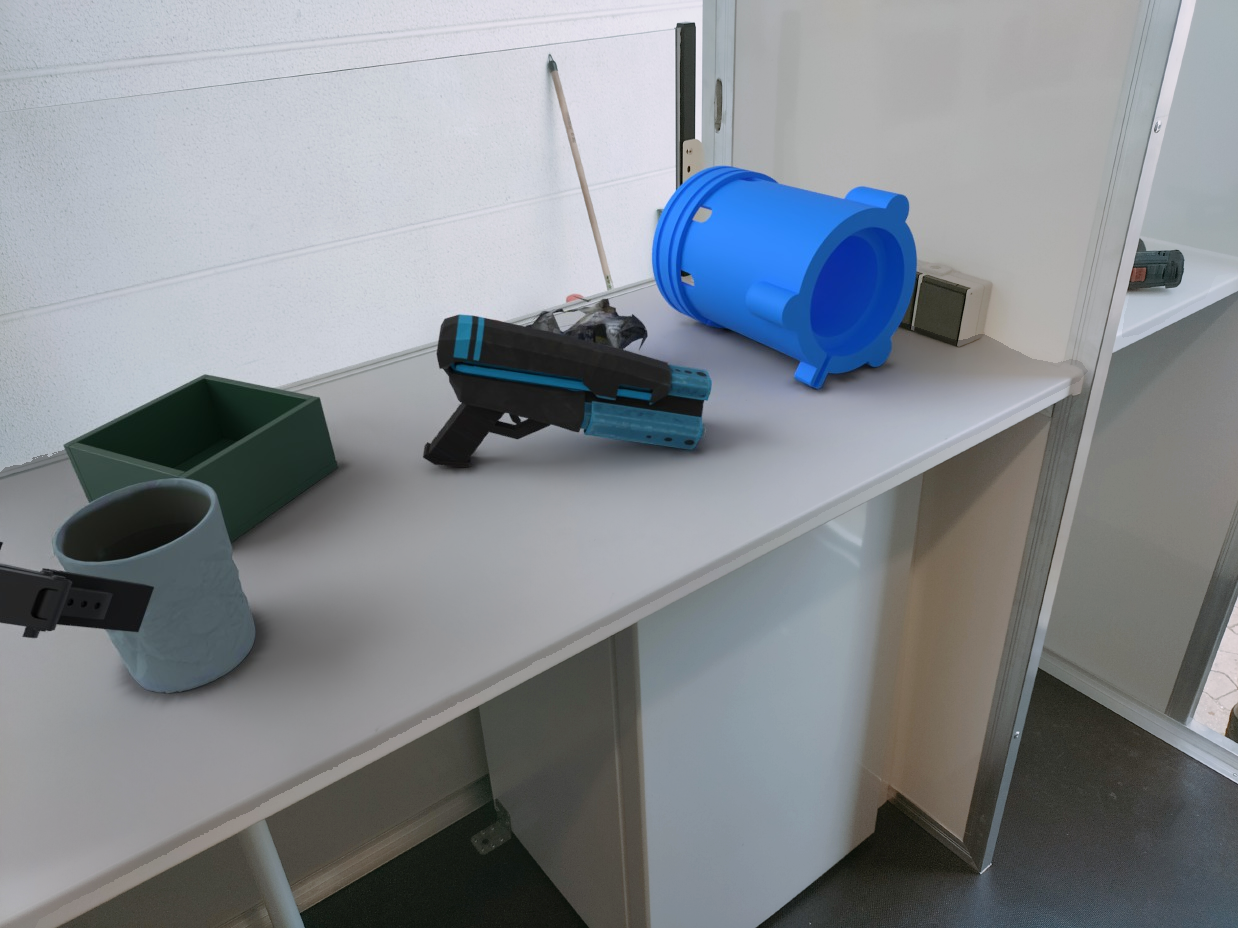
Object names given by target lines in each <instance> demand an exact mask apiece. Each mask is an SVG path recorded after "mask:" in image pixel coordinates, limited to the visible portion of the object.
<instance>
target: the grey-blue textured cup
mask: <svg viewBox="0 0 1238 928" xmlns="http://www.w3.org/2000/svg"><path fill="white" fill-rule="evenodd" d="M51 544H52V546H51V547H52V551H53V555H54V556H55V557H56V559H57V560H58V562H59V563H60V565H61V567H62V568H63V571H64V572H71V573H77V574H83V575H90V576H96V577H102V578H109V579H115V580H121V581H127V582H134V583H140V584H146V585H149V586H153V587H154V589H153V592H152V595H151V598H150V601H149V604H148V607H147V609H146V612H145V615H144V618H143V621H142V624H141V627H140V629H139V632H130V631H119V630H109V629H103V630H104V631H105V632H106V633H107V635H108V636H109V640H110V642H111V643H112V644H113V646H114V647H115V649H116V650H117V653H118V654H119V657H120V659H121V661H122V662H123V664H124V665H125V667H126V670H127V671H128V672H129V674H130V675H131V677H132V678H133V679H134V680H135V681H136V682H137V684H138V685H139V686H141V687H142V688H144V689H145V690H147V691H150V692H155V693H166V694H173V693H176V692H179V693H182V692H184V691H190V690H192V689H196V688H198V687H201V686H204V685H208V684H209V683H211V682H213V681H216V680H218V678H221V677H224V676H225V675H227V674H228V673H229V672H231V671H233V670H234V669H235V668H236V667H237V666H239V664H240V663H242V661H243V660H244V659H245V658H246V657H247V655H248V654H250V652H251V650H252V648H253V646H254V642H255V640H256V626H255V625H256V624H255V621H254V618H253V613H252V611H251V606H250V603H249V600H248V597H247V596H246V594H245V592H244V591H243V587H242V583H241V580H240V574H239V569H238V567H237V565H236V562H235V561H234V559H233V546H232V542H231V543H230V540H229V536H228V533H227V530H226V527H225V523H224V519H223V516H222V512H221V509H220V505H219V501H218V498H217V494H216V493H215V491H214V490H213V489H212V488H211V487H210V486H208V485H206V484H204V483H201V482H198V481H195V480H191V479H185V478H172V479H160V480H154V481H149V482H144V483H139V484H135V485H132V486H128V487H125V488H122V489H120V490H117V491H114V492H112V493H109V494H107V495H105V496H102V497H100V498H98V499H96V500H94V501H92V502H91V503H89V502H88V503H87V504H86V505H84V506H81V508H79V509H78V510H77V511H75V512H74V513H72V514H71V515H70V516H69V517H68V518H67V519H66V520H65V521H64V522H62V523H61V524H60V525H59V527H58V529H57V530H56V531H55V533H54V536H53V538H52V541H51Z"/></svg>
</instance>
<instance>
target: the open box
mask: <svg viewBox="0 0 1238 928" xmlns="http://www.w3.org/2000/svg"><path fill="white" fill-rule="evenodd" d="M321 400H322V399H321V397H320V396H315V395H311V394H305V393H301V392H295V391H291V390H286V389H281V388H276V387H270V386H266V385H261V384H258V383H257V384H256V383H252V382H251V383H250V382H246V381H241V380H237V379H231V378H227V377H222V376H216V375H213V374H207V373H205V374H202V375H200V376H198V377H196V378H195V379H192V380H190V381H188V382H186V383H184V384H182V385H180V386H178V387H176V388H173V389H172V390H170V391H168V392H166V393H164V394H162V395H160V396H158V397H156V398H154V399H152V400H150V401H148V402H145V403H144V404H142V405H140V406H138V407H136V408H134V409H132V410H130V411H128V412H126V413H124V414H122V415H119V416H118V417H116V418H113V419H112V420H110V421H108V422H106V423H104V424H102V425H100V426H97V427H96V428H94V429H92V430H90V431H88V432H85V433H84V434H82V435H80V436H78V437H75V438H74V439H71V440H70V441H67V442H65V443H64V444H63V445H62V446H63V448H64V450H65V452H66V455H67V457H68V459H69V461H70V463H71V466H72V468H73V470H74V472H75V474H76V475H75V476H76V477H77V479H78V481H79V484H80V487H81V489H82V490H83V492H84V495H85V497H86V499H87V502H88V504H89V503H91V502H92V501H94V500H96V499H98V498H100V497H102V496H105V495H107V494H109V493H112V492H114V491H117V490H120V489H122V488H125V487H128V486H132V485H135V484H139V483H144V482H149V481H154V480H160V479H172V478H185V479H191V480H195V481H198V482H201V483H204V484H206V485H208V486H210V487H211V488H212V489H213V490H214V491H215V493H216V494H217V498H218V501H219V505H220V509H221V512H222V516H223V519H224V523H225V527H226V530H227V533H228V536H229V540H230V543H231V544H232V543H233V542H234V541H235V540H237V539H238V538H240V537H241V536H242V535H244V534H245V533H247V532H248V531H250V530H251V529H253V528H254V527H255V526H256V525H258V524H259V523H261V522H263V521H264V520H265V519H267V518H268V517H270V516H271V515H272V514H274V513H275V512H278V510H280V509H281V508H282V507H284V506H285V505H287V504H288V503H289V502H291V501H292V500H294V499H295V498H296V497H298V496H299V495H301V494H302V493H303V492H306V491H307V490H308V489H309V488H311V487H312V486H314V485H315V484H317V483H318V482H319V481H321V480H322V479H324V478H325V477H326V476H328V475H329V474H330V473H332V472H334V471H335V470H336V469H338V468H339V465H338V462H337V459H336V458H337V457H336V454H335V450H334V447H333V442H332V439H331V435H330V431H329V428H328V427H329V426H328V424H327V420H326V416H325V411H324V408H323V404H322V401H321Z"/></svg>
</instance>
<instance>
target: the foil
mask: <svg viewBox="0 0 1238 928" xmlns="http://www.w3.org/2000/svg"><path fill="white" fill-rule="evenodd" d="M573 297H574V298H577V299H579V300H582V301H584V302H586V303H589V302H591V300H590V299H586V298H582V297H578V296H575V295H573ZM578 311H579V312H581V313H583V314H585V315H584V316H582V317H581V318H579V320H577V321H576V322H575V323H573V324H571V325H570V324H568V325H566V327H567V326H570V327H569V328H567V329H565V330H563V331H562V330H561V329H560V328H563V327H564V325H563V326H561V327H560V326H559V324H558V321H557V319H556V317H555V314H557V313H563V314H564V313H565V314H566V313H575V312H578ZM532 321H534V322H533V323H531V324H530V323H528V324H526V325H524V326H525V327H530V328H535V329H540V330H544V331H549V332H553V333H557V334H561V335H565V336H569V337H573V338H577V339H582V340H586V341H590V342H594V343H598V344H602V345H606V346H610V347H614V348H618V349H622V350H625V348H627V347H628V346H630V345H632V343H633V342H637V341H638V340H641V342H640V344H639V348H638V351H640V350H641V349H642V347H643V345H644V343H645V342H646V340H647V338H648V335H649V334H648V330H647V327H646V325H645V324H644V323H643V322H642V321H641V320H640V319H639V318H638V317H637V316H636V315H635V314H634V313H632V314H631V315H619V313H618V311H617V307H614V306H612V305H611V304H610V301H609V298H602V299H600V300H599V302H597V303H595V304H594V305H593V306H583V305H582V306H580V307H579V308H575V309H574V308H573V309H568V310H564V308H558V309H552V310H551V311H549V310H542V311H541V312H540V313H539V314H537V316H535V317H534V318H533V319H532Z"/></svg>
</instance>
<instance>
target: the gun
mask: <svg viewBox="0 0 1238 928" xmlns="http://www.w3.org/2000/svg"><path fill="white" fill-rule="evenodd" d="M525 326H526V325H520V324H515V323H510V322H507V321H502V320H496V319H492V318H487V317H482V316H479V315H471V314H455V315H452V316H450V317H446V318H444V319H443V321H442V323H441V325H440V328H439V334H438V339H437V348H436V358H437V364H438V368H439V370H443V372H445V374H446V375H447V377H448V383H449V384H450V386H451V388H452V390H453V392H454V394H455V397H456V399H457V400H458V402H459V403H460V404H459V405H458V406H457V407H456V410H455V411H454V412H453V413H452V414H451V415H450V417H449V418H448V420H447V421H446V422H445V424H444V425H443V426H442V427H441V429H440V430H439V431H438V433H437V434H436V436H434V437H433V439H432V440H431V442H428V441H427V442H426V443H425V444H424V445H423V446H424V448H423V452H422V453H423V454H422V458H423V459H425V460H426V461H428V462H430V463H431V464H433V465H434V466H443V467H444V466H445V467H458V468H470V467H471V458H472V455H474V453H475V452H476V451H477V450H478V447H479V446H480V445H481V444H482V443H483V441H484V440H485V438H486V437H488V435H489V433H490V434H494V435H499V436H502V437H507V438H511V439H514V440H521V439H522V438H524V437H527V436H529V435H532V434H534V433H536V432H539V431H541V430H544V429H546V428H548V427H550V426H551V425H552V426H554V427H557V428H562V429H564V430H568V431H570V432H573V433H580V431H581V430H583V434H584V435H585V436H592V437H597V438H598V437H599V438H604V439H605V438H606V439H612V440H619V441H627V442H634V443H641V444H648V445H656V446H662V447H670V448H677V449H683V450H684V449H685V450H690V451H691V450H692V451H693V450H694V449H695V447H696V446H697V445H698V442H699V441H701V439H704V438H705V435H706V432H707V426H706V424H705V423H703V413H704V403H705V401H706V402H708V401H709V397H710V395H711V392H712V384H713V383H712V382H713V380H712V378H711V377H710V375H709V373H708V371H707V370H706V369H701V368H695V367H690V366H689V367H688V366H683V365H676V364H670V363H669V362H667V361H664V360H660V359H657V358H654V357H650V356H646V355H642V354H640V353H636V352H633V351H629V350H626V349H624V350H622V349H618V348H614V347H610V346H606V345H602V344H598V343H594V342H590V341H586V340H582V339H577V338H573V337H569V336H565V335H561V334H557V333H553V332H549V331H544V330H540V329H535V328H530V327H525ZM505 414H508V415H509V417H510V420H511V422H512V423H509V422H504V421H501V418H503V416H504V415H505ZM521 418H525V420H522V419H521ZM513 423H514V424H513Z"/></svg>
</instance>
